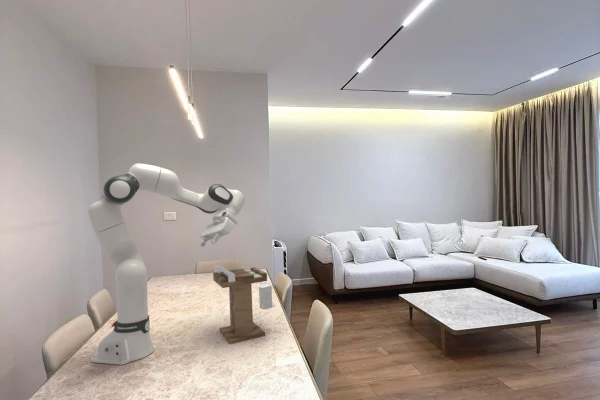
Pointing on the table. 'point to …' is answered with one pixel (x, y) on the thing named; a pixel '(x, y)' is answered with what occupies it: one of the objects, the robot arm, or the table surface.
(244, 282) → the walnut pedestal
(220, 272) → the aluminium bar
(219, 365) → the table surface
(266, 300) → the skincare box
